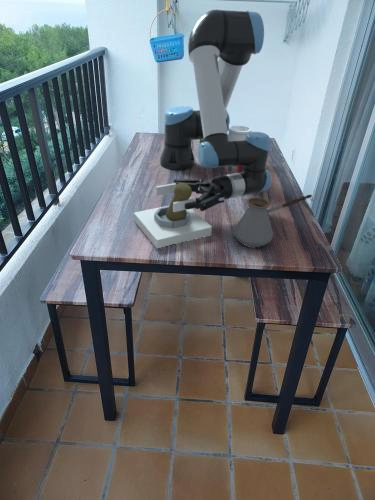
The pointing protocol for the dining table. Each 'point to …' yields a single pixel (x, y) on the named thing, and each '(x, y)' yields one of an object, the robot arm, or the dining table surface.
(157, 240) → the base plate
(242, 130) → the jar
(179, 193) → the cork
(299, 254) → the dining table surface
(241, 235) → the coffee pot
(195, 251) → the dining table surface
